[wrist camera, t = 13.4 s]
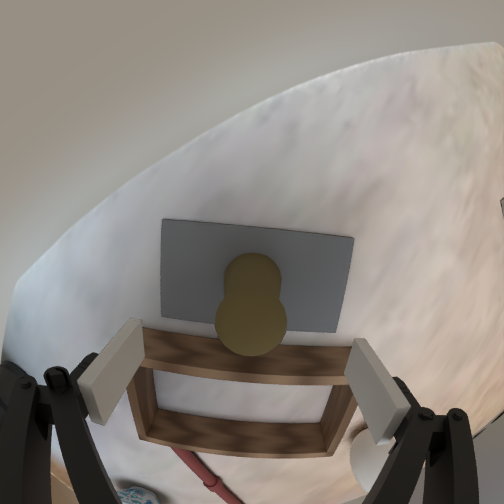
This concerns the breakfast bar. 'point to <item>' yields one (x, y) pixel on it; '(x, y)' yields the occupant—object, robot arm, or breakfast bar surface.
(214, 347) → the wooden box
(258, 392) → the breakfast bar surface
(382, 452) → the white bulb air blower
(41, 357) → the breakfast bar surface
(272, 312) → the olive dumbbell shape
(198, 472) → the red rod with collar
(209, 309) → the charcoal mat
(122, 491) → the chinaware
